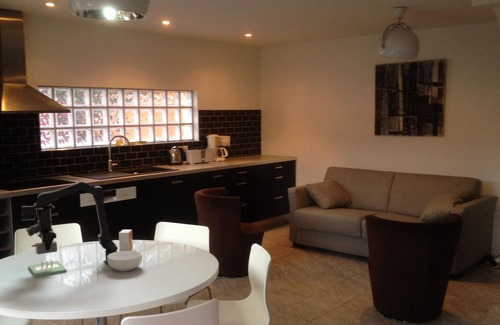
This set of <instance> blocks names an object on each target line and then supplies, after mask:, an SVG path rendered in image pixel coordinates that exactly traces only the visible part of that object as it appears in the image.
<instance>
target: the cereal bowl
mask: <svg viewBox="0 0 500 325" xmlns="http://www.w3.org/2000/svg"><path fill="white" fill-rule="evenodd" d="M107 261H108V264H107V265H108V266H109V267H110V268H112V269H114V270H116V271H119V272H127V271H128V272H129V271H132V270H133V269H135V268H137V267H139V265H141V264H142V261H143V253H142V252H140V251H136V250H129V251H120V250H119V251H117V252H114V253H111V254H109V255H108V256H107Z"/></svg>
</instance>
